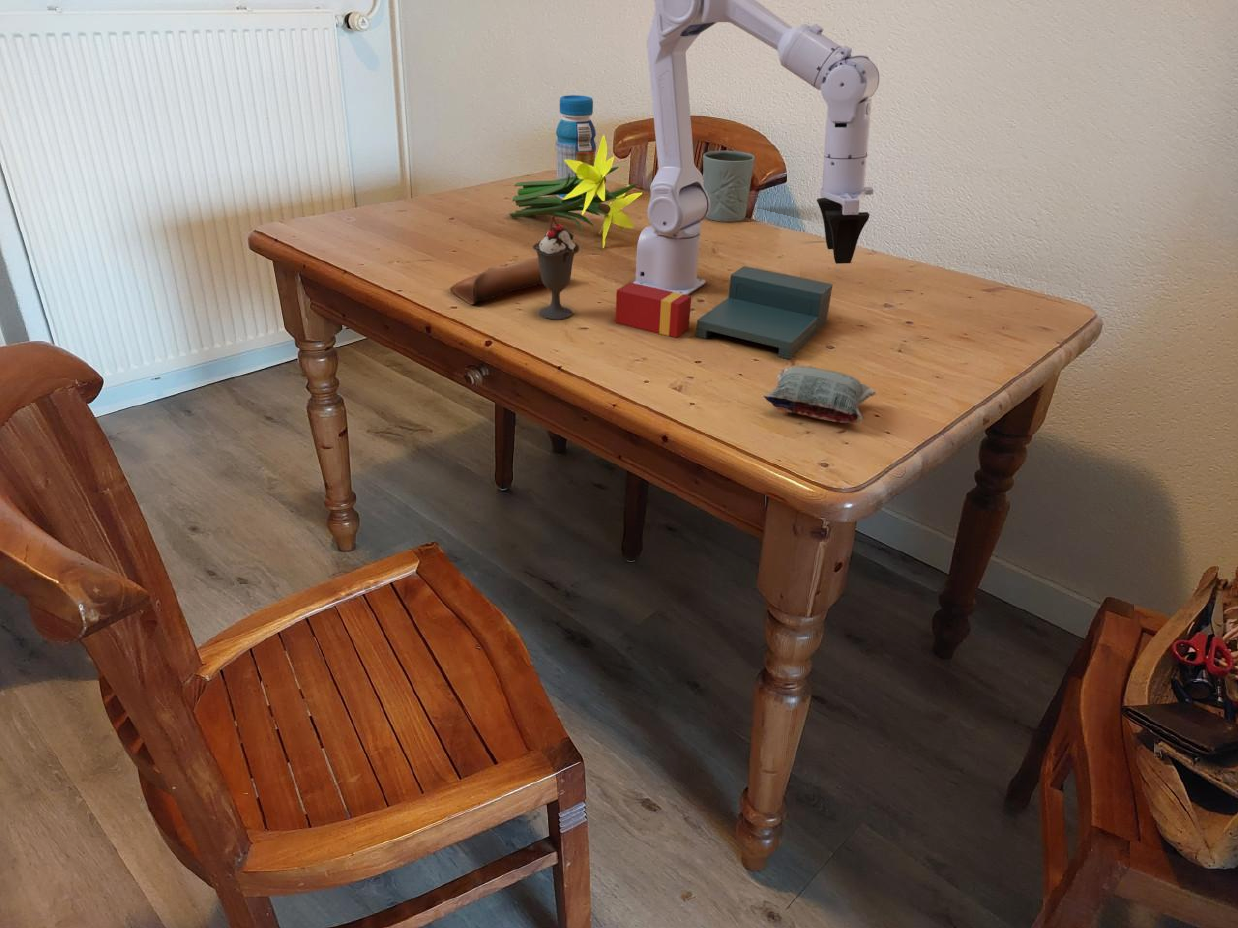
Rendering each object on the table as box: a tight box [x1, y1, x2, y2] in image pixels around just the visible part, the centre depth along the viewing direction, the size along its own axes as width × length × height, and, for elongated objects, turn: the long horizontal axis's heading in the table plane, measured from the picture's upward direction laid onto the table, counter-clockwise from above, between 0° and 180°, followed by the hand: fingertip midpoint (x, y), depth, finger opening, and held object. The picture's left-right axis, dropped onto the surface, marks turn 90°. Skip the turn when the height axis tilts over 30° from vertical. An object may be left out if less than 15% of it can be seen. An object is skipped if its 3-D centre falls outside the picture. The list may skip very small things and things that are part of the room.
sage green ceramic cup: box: [702, 150, 756, 223], centre depth 175 cm, size 10×10×12 cm
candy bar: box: [615, 281, 692, 338], centre depth 125 cm, size 10×4×5 cm, turn 60°
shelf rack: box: [695, 265, 833, 360], centre depth 125 cm, size 14×16×6 cm
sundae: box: [531, 216, 580, 321], centre depth 125 cm, size 7×7×15 cm
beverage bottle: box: [554, 94, 597, 200], centre depth 181 cm, size 8×8×20 cm
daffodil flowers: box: [509, 134, 643, 249], centre depth 160 cm, size 17×15×35 cm
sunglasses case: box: [449, 257, 544, 306], centre depth 137 cm, size 18×7×7 cm, turn 132°
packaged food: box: [763, 365, 877, 424], centre depth 104 cm, size 9×12×5 cm
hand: (838, 255), depth 124 cm, fingers open, 7 cm apart
